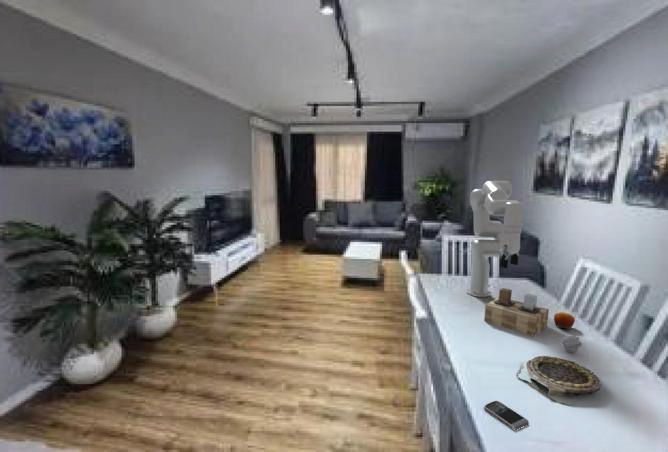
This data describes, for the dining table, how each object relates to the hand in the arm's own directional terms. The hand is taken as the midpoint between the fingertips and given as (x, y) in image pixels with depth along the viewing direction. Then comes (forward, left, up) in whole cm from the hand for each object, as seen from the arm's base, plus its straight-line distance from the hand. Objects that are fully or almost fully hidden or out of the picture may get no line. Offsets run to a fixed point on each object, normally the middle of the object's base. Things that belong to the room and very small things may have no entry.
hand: (508, 265), depth 168 cm
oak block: (-2, +4, -27) cm, 27 cm away
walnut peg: (-2, -1, -21) cm, 21 cm away
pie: (+37, +34, -28) cm, 57 cm away
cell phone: (+69, +28, -28) cm, 79 cm away
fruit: (-14, +21, -27) cm, 37 cm away
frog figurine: (+11, +30, -27) cm, 42 cm away
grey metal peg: (-2, +10, -21) cm, 23 cm away
